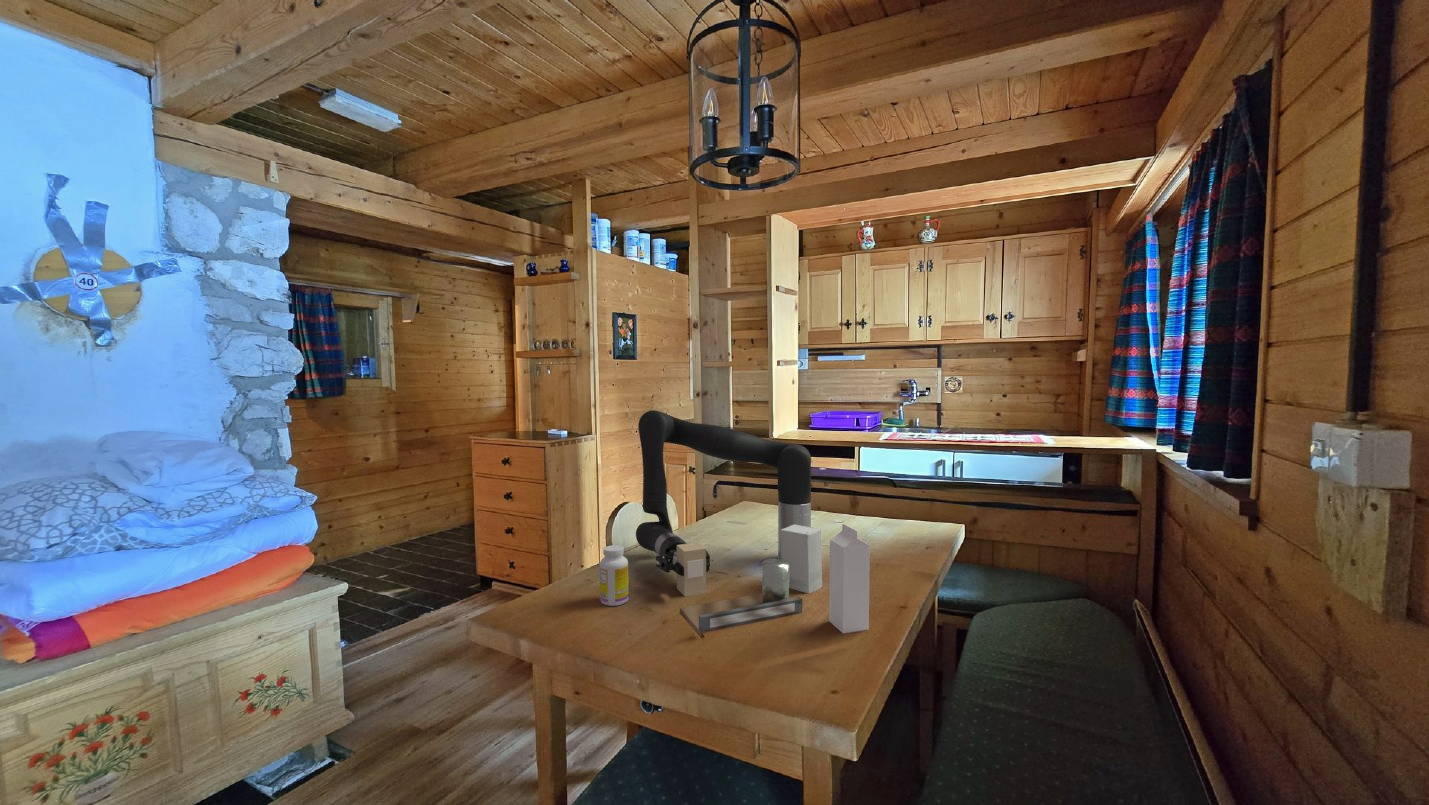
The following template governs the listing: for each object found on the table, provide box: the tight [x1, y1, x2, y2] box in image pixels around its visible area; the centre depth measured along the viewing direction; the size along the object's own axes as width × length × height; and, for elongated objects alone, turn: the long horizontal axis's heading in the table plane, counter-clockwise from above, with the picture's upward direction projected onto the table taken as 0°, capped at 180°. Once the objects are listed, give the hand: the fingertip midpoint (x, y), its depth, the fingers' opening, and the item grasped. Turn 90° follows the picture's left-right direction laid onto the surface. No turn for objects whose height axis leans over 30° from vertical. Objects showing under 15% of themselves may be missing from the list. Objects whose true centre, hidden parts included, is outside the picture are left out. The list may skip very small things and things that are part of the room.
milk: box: [828, 523, 871, 634], centre depth 119 cm, size 6×6×22 cm
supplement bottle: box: [599, 544, 630, 607], centre depth 135 cm, size 7×7×13 cm
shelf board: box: [679, 593, 803, 639], centre depth 127 cm, size 24×13×4 cm, turn 113°
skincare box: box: [780, 524, 823, 594], centre depth 141 cm, size 8×7×16 cm
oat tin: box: [761, 558, 790, 604], centre depth 128 cm, size 6×6×10 cm
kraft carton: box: [676, 541, 707, 597], centre depth 138 cm, size 6×6×12 cm
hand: (695, 570), depth 136 cm, fingers closed on kraft carton, 5 cm apart
